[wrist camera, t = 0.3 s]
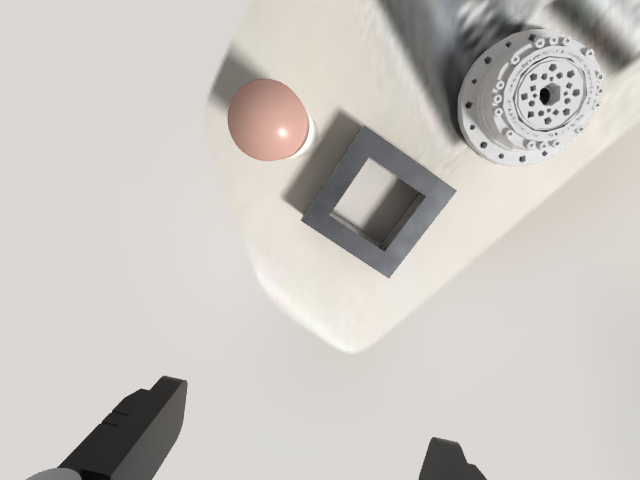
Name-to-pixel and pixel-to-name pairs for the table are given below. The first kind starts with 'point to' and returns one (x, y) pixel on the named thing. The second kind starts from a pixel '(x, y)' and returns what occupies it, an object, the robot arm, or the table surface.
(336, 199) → the socket
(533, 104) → the mechanical component
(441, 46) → the table surface
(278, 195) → the table surface
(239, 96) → the peg
